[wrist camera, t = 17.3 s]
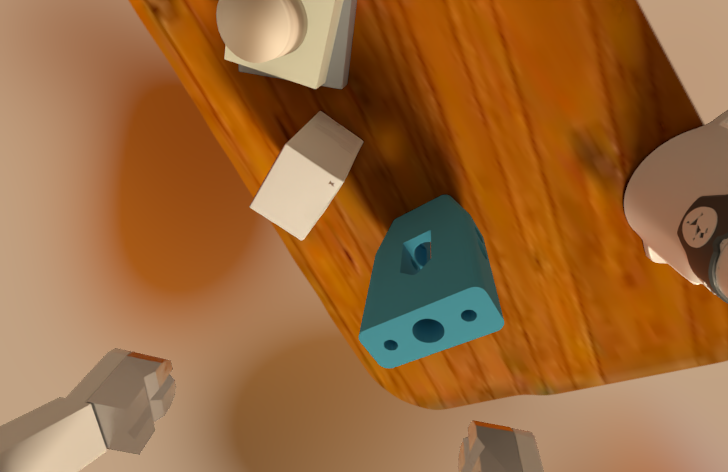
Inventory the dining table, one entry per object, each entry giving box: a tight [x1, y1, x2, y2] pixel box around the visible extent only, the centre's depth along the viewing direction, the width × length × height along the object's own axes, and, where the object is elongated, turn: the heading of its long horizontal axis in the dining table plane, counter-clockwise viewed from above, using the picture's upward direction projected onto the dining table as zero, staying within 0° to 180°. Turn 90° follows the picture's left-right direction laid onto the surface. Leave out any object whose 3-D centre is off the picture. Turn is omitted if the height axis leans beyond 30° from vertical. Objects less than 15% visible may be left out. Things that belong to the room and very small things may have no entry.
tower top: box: [224, 0, 344, 89], centre depth 37 cm, size 9×9×4 cm
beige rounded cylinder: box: [216, 0, 308, 63], centre depth 33 cm, size 6×6×6 cm
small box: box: [250, 111, 364, 241], centre depth 43 cm, size 8×6×13 cm
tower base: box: [239, 0, 357, 89], centre depth 40 cm, size 11×11×4 cm
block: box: [359, 195, 504, 368], centre depth 43 cm, size 12×5×20 cm, turn 124°
